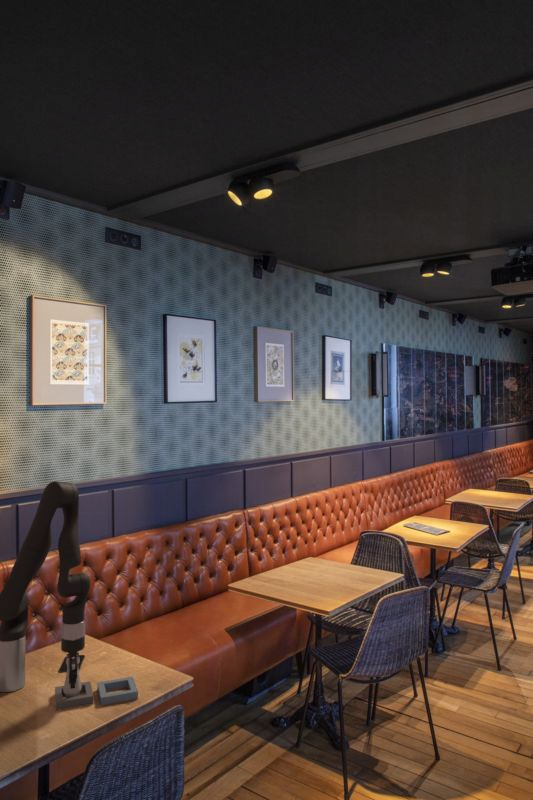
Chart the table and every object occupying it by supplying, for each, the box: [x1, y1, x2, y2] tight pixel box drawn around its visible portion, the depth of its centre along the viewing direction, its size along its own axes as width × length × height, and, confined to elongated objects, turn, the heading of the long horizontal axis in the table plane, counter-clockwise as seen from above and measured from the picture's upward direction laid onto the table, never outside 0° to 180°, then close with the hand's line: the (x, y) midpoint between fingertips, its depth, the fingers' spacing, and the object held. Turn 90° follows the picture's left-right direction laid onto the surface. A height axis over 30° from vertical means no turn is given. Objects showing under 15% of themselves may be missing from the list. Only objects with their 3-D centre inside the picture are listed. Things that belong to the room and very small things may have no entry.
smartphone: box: [57, 654, 86, 674], centre depth 223 cm, size 8×1×15 cm
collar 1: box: [54, 681, 94, 711], centre depth 195 cm, size 12×12×2 cm
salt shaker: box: [63, 658, 82, 698], centre depth 194 cm, size 6×6×13 cm
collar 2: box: [96, 676, 139, 706], centre depth 198 cm, size 12×12×2 cm
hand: (72, 686), depth 194 cm, fingers closed on salt shaker, 3 cm apart
